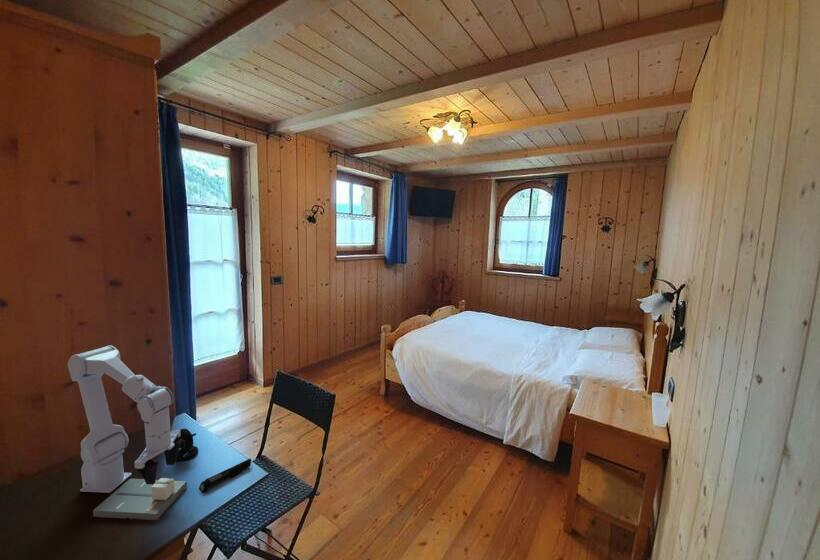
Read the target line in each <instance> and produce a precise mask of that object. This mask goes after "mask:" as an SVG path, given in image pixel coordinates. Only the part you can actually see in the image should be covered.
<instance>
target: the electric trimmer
mask: <svg viewBox="0 0 820 560" xmlns="http://www.w3.org/2000/svg"><path fill="white" fill-rule="evenodd" d="M251 465H252V458H248V459H245V460H244V461H242V462H240V463H237V464H235V465H234V466H231V467H229V468H227V469H225V470H222V471H220V472H218V473H216V474H214V475H212V476H211V477H208V478H206V479H204V480H203V481H201V482H200V484H199V487H198V489H199V491H200V493H202V494H205V493H207V492H208V490H210V489H211V488H213V487H216V486H217V485H218V484H221V483H222V482H224V481H227V480H228V479H230V478H231V479H232V478H234V477H236V476H238V475H239V474H241V473H243V472H244V471H245V470H247V469H248V468H250V466H251Z"/></svg>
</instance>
